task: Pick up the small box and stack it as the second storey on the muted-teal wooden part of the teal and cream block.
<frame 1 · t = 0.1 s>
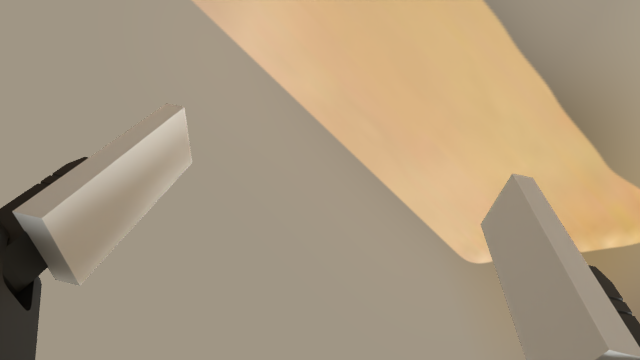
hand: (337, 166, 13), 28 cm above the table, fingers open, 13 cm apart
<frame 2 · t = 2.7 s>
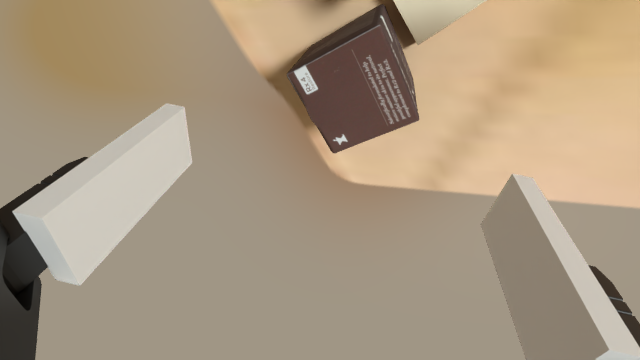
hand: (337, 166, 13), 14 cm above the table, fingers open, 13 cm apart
box: (362, 61, 24), on the table
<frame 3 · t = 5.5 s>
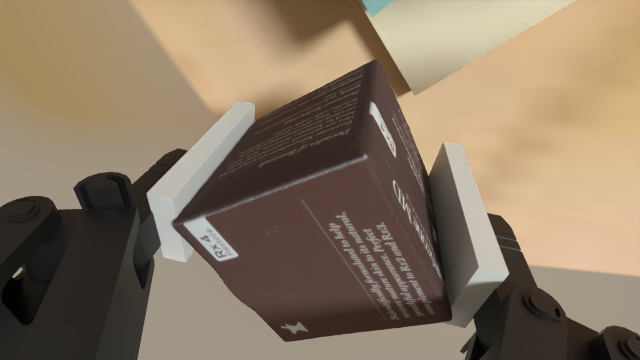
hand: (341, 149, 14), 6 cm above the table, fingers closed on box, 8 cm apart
box: (343, 143, 15), point 5 cm above the table, touching gripper
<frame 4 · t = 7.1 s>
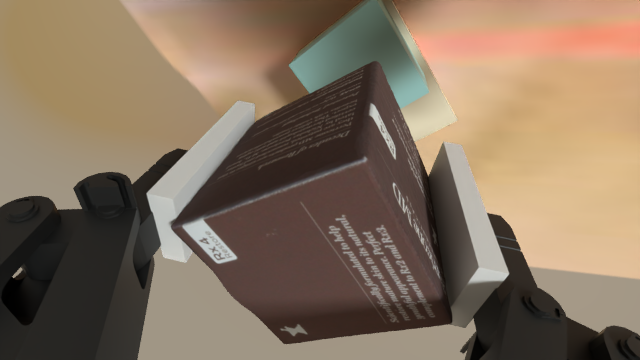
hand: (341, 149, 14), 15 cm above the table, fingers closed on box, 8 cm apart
teal and cream block: (378, 83, 27), on the table
box: (343, 144, 15), point 14 cm above the table, touching gripper
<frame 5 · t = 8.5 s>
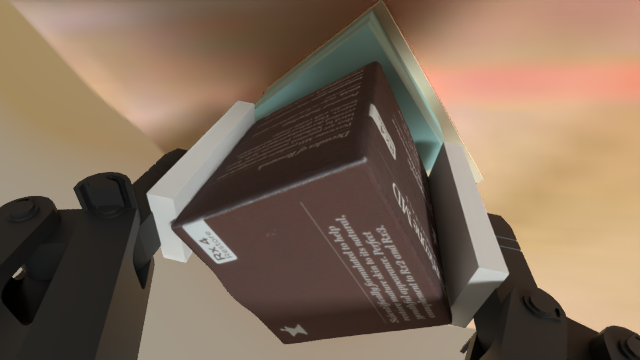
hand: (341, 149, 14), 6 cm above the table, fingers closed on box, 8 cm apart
teal and cream block: (376, 130, 20), on the table
box: (343, 144, 15), point 5 cm above the table, touching gripper
when the fingers open (5 cm above the table, at t = 9.1 s): box stays where it is, resting on teal and cream block.
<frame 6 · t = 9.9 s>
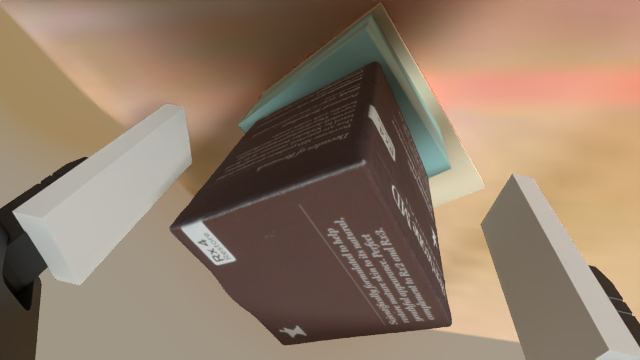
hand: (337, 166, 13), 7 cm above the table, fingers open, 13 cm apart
teal and cream block: (375, 135, 19), on the table
box: (343, 145, 15), point 5 cm above the table, touching teal and cream block
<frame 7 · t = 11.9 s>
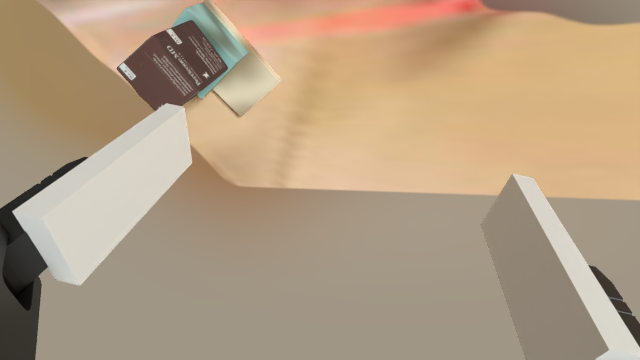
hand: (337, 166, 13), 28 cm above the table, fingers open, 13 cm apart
teal and cream block: (228, 62, 40), on the table
box: (195, 57, 36), point 5 cm above the table, touching teal and cream block
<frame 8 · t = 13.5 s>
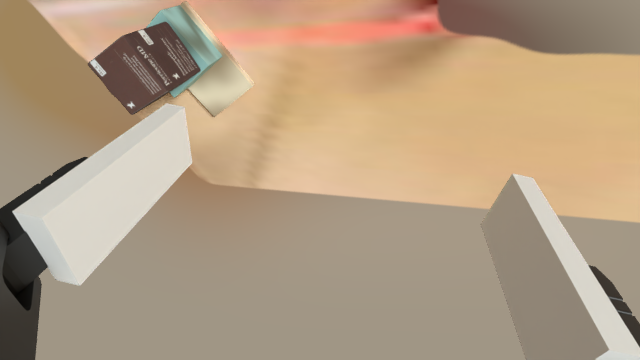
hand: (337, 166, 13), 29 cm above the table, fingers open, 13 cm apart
teal and cream block: (203, 63, 42), on the table
box: (169, 57, 37), point 5 cm above the table, touching teal and cream block
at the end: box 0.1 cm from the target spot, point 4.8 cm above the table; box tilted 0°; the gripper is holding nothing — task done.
